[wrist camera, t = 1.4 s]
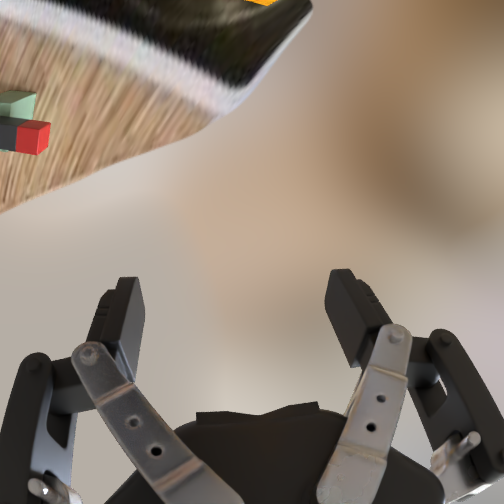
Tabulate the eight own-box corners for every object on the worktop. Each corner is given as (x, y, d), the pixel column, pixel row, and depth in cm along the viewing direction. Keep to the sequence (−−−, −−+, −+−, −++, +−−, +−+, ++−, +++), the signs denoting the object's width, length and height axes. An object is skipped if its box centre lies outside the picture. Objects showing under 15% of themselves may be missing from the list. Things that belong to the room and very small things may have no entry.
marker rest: (4, 131, 25) (-21, 147, 21) (9, 90, 23) (-18, 101, 18) (30, 135, 27) (6, 152, 22) (36, 92, 24) (11, 103, 20)
